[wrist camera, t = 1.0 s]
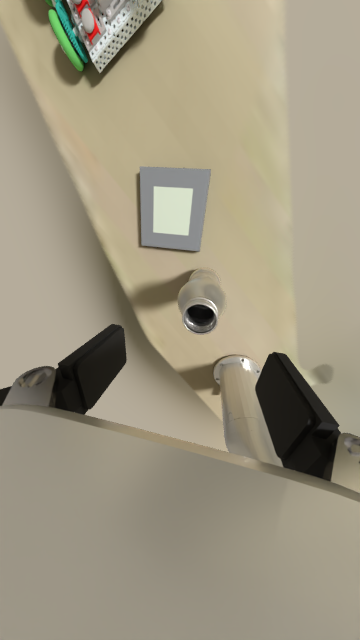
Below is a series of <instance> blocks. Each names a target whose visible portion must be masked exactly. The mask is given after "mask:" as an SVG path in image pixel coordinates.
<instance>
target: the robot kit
mask: <svg viewBox="0 0 360 640" xmlns="http://www.w3.org/2000/svg"><path fill="white" fill-rule="evenodd" d="M45 1H46V2H47V4H48V5H49V6H51V7H54V8H56V10H57V13H58V14H57V13H56V12H55V11H54V10H52V9H51V10H49V20H50V24H51V26H52V29H53V31H54V33H55V35H56V37H57V39H58V41H59V43H60V44H61V45H60V46H61V48H62V50H63V51H64V53H65V54H66V55H67V56H68V58H69V59H70V61H71V62H72V64H73V65H74V66H75V68H76V69H77V70H79V71H83V68H84V65H83V61H84V62H85V63H87V62H88V58H87V56H86V53H85V51H84V49H83V46H82V44H81V42H83V43H85V45H86V48H87V50H88V52H89V55H90V57H91V59H92V62H93V63H94V65H95V67H96V68H97V70H98V71H99V73H100V72H101V71H103V69H104V68H105V66H106V65H107V64H108V63H109V62H110V61H111V59H112V58H113V57H114V56H115V55H116V54H117V52H118V51H119V50H120V48H122V47H123V45H124V44H125V43H126V42H127V41H128V40H129V38H130V37H131V36H132V35H133V34H134V33H135V31H136V30H137V29H138V28H139V27H140V26H141V24H142V23H143V21H145V20H146V19H147V17H148V16H149V15H150V14H151V13H152V12H153V10H154V9H155V8H156V7H157V6H158V5H159V3H160V2H161V1H162V0H149V1H148V2H147V1H146V0H130V1H129V0H67V2H68V5H69V7H70V10H71V12H72V15H71V20H72V22H73V24H74V25H75V27H74V28H73V26H72V24H71V22H70V20H69V19H68V18H69V17H68V14H67V11H66V9H65V7H64V5H63V3H62V0H45ZM134 1H135V3H134V5H133V2H134ZM154 2H156V3H155V4H154ZM98 3H99V6H98ZM138 4H139V7H138ZM142 5H143V8H141V6H142ZM124 6H125V7H124ZM94 8H95V10H94ZM149 8H150V10H149ZM137 11H138V14H137V15H136V12H137ZM102 12H103V16H102V14H101V13H102ZM119 13H120V14H119ZM124 13H125V16H124V17H123V14H124ZM140 13H141V14H140ZM144 14H145V16H144ZM106 15H107V16H106ZM98 17H99V21H98V20H97V19H98ZM132 17H133V20H132V21H131V18H132ZM115 18H116V19H115ZM114 19H115V20H114ZM139 20H140V22H139ZM106 21H107V23H108V24H107V25H106V24H105V22H106ZM127 23H128V26H126V24H127ZM110 24H111V26H110ZM135 25H136V26H135ZM134 26H135V28H134ZM113 27H114V28H113ZM122 29H123V30H124V31H123V32H122V31H121V30H122ZM130 31H131V32H130ZM129 32H130V33H129ZM78 34H79V38H80V40H81V42H80V40H79V38H78V36H77V35H78ZM113 34H115V36H113ZM118 34H119V37H118V38H117V35H118ZM105 37H106V39H105ZM125 37H126V38H125ZM113 40H114V41H115V42H114V43H113V42H112V41H113ZM101 42H102V44H101V45H100V43H101ZM121 42H122V43H121ZM120 43H121V44H120ZM109 45H110V48H108V46H109ZM116 47H117V49H116ZM104 51H106V53H104ZM112 52H113V53H112ZM100 56H102V57H101V58H100ZM108 57H109V58H108ZM82 59H83V61H82ZM97 61H98V62H97ZM104 62H105V63H104Z"/></svg>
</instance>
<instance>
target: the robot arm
mask: <svg viewBox="0 0 360 640" xmlns="http://www.w3.org/2000/svg"><path fill="white" fill-rule="evenodd" d="M125 363H126V348H125V337H124V329H123V328H122V327H121V326H120V325H115V324H111V325H110V326H109V327H107V328H106V329H104V330H103V331H102V332H100V333H99V334H98V335H96V336H95V337H93V338H92V339H91V340H89V341H88V342H87V343H85V344H84V345H83V346H81V347H80V348H78V349H77V350H76V351H74V352H73V353H72V354H70V355H69V356H68V357H66V358H65V359H63V360H62V361H61V362H59V363H58V366H59V367H58V368H57V369H55V368H54V367H50V366H42V367H38V368H34V369H32V370H29V371H27V372H25V373H24V374H22V375H21V376H19V377H18V378H17V379H16V380H15V382H14V383H13V385H12V386H11V387H7V388H3V389H0V640H360V437H358V436H356V435H353V434H350V433H341V432H340V431H339V430H338V427H339V424H338V423H337V422H336V421H335V419H334V418H333V416H332V415H331V414H330V412H329V411H328V410H327V408H326V407H325V406H324V404H323V403H322V402H321V400H320V399H319V398H318V397H317V395H316V394H315V392H314V391H313V390H312V388H311V387H310V386H309V384H308V383H307V382H306V380H305V379H304V378H303V376H302V375H301V374H300V372H299V371H298V370H297V368H296V367H295V366H294V364H293V363H292V362H291V360H290V359H289V358H288V356H287V355H286V354H283V353H277V352H273V353H272V354H269V356H268V358H267V360H266V362H265V365H264V367H263V369H262V371H261V370H260V367H259V366H258V364H257V363H256V362H255V361H254V360H252V359H251V358H248V357H246V356H241V355H232V356H228V357H225V358H223V359H221V360H220V361H219V362H217V364H216V365H215V367H214V371H213V373H214V379H215V381H216V382H217V383H218V384H219V385H220V391H221V403H222V415H223V426H224V437H225V443H226V446H227V449H228V451H229V452H225V451H221V450H217V449H213V448H210V447H206V446H202V445H198V444H195V443H191V442H187V441H183V440H179V439H176V438H172V437H168V436H164V435H160V434H157V433H153V432H149V431H145V430H141V429H137V428H134V427H130V426H126V425H122V424H118V423H114V422H110V421H106V420H102V419H98V418H95V417H90V416H87V415H84V414H85V413H86V412H87V411H88V409H91V408H92V407H93V406H94V405H95V403H96V402H97V401H98V399H99V398H100V397H101V395H102V394H103V393H104V391H105V390H106V389H107V388H108V386H109V385H110V383H111V382H112V381H113V379H114V378H115V377H116V375H117V374H118V373H119V372H120V370H121V369H122V367H123V366H124V365H125ZM74 412H75V413H74Z"/></svg>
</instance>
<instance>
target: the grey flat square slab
mask: <svg viewBox="0 0 360 640" xmlns="http://www.w3.org/2000/svg"><path fill="white" fill-rule="evenodd" d="M210 174H211V169H187V168H163V167H140V197H141V244H142V245H144V246H154V247H163V248H172V249H182V250H191V251H200V246H201V239H202V231H203V224H204V217H205V210H206V203H207V195H208V188H209V181H210Z"/></svg>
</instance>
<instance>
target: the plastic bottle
mask: <svg viewBox="0 0 360 640" xmlns="http://www.w3.org/2000/svg"><path fill="white" fill-rule="evenodd" d="M226 303H227V301H226V296H225V293H224V291H223V289H222V288H221V280H220V277H219V275H218V274H217V273H216V272H215V271H214V270H212V269H210V268H200V269H197V270H196V271H194V272H193V273H192V274H191V276H190V278H189V282H187V283H186V284H185V285H184V286H183V287H182V288H181V290H180V292H179V294H178V307H179V310H180V312H181V314H182V321H183V324H184V326H185V327H186V328H187V329H188V330H189V331H190V332H192V333H194V334H199V335H203V334H208V333H210V332H211V331H213V330H214V329H215V327H216V326H217V323H218V319H219V318H220V317H221V316H222V314H223V313H224V311H225V308H226Z"/></svg>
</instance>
